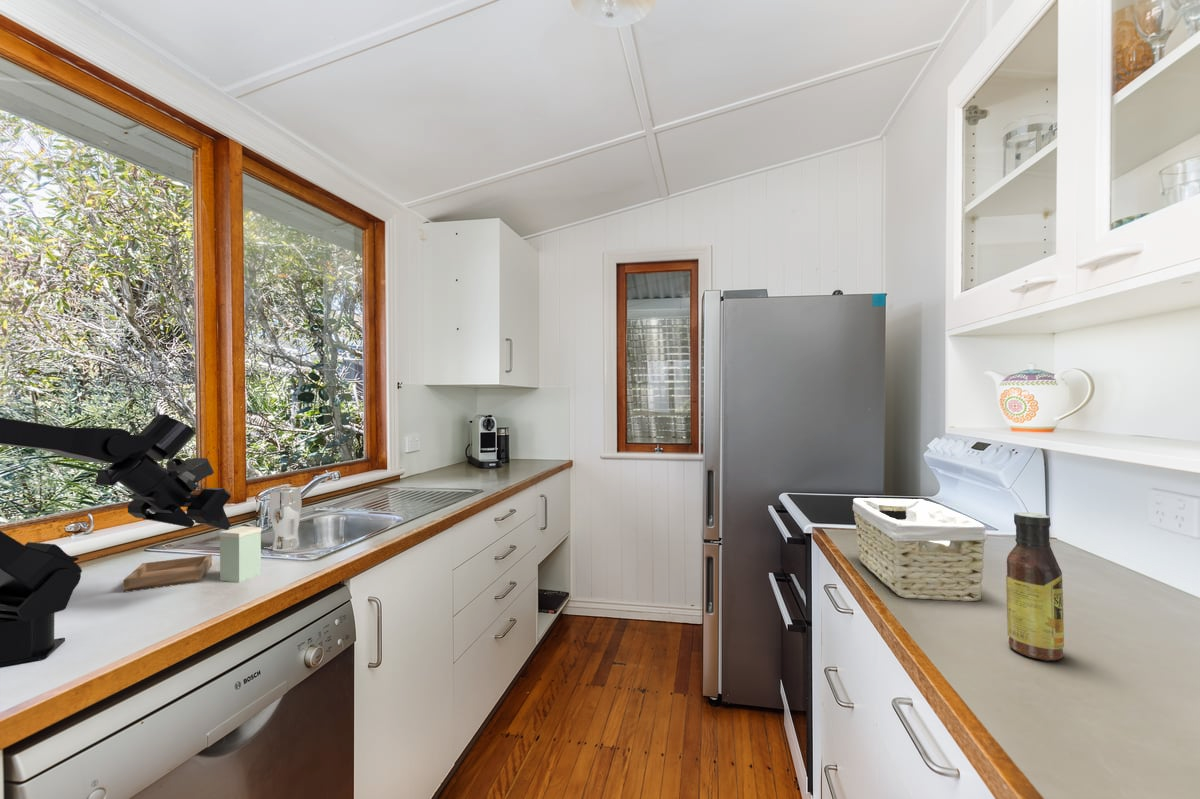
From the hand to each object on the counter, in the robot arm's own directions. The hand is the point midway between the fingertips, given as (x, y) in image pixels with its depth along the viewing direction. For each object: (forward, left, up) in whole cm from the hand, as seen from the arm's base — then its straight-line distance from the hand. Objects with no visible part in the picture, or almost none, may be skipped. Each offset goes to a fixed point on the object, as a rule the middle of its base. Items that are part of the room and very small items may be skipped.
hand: (210, 526), depth 101 cm
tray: (+12, +9, -12) cm, 19 cm away
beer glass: (+26, -11, -13) cm, 31 cm away
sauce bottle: (-92, -110, -12) cm, 144 cm away
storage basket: (-67, -125, -13) cm, 142 cm away
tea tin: (+5, -4, -12) cm, 14 cm away
